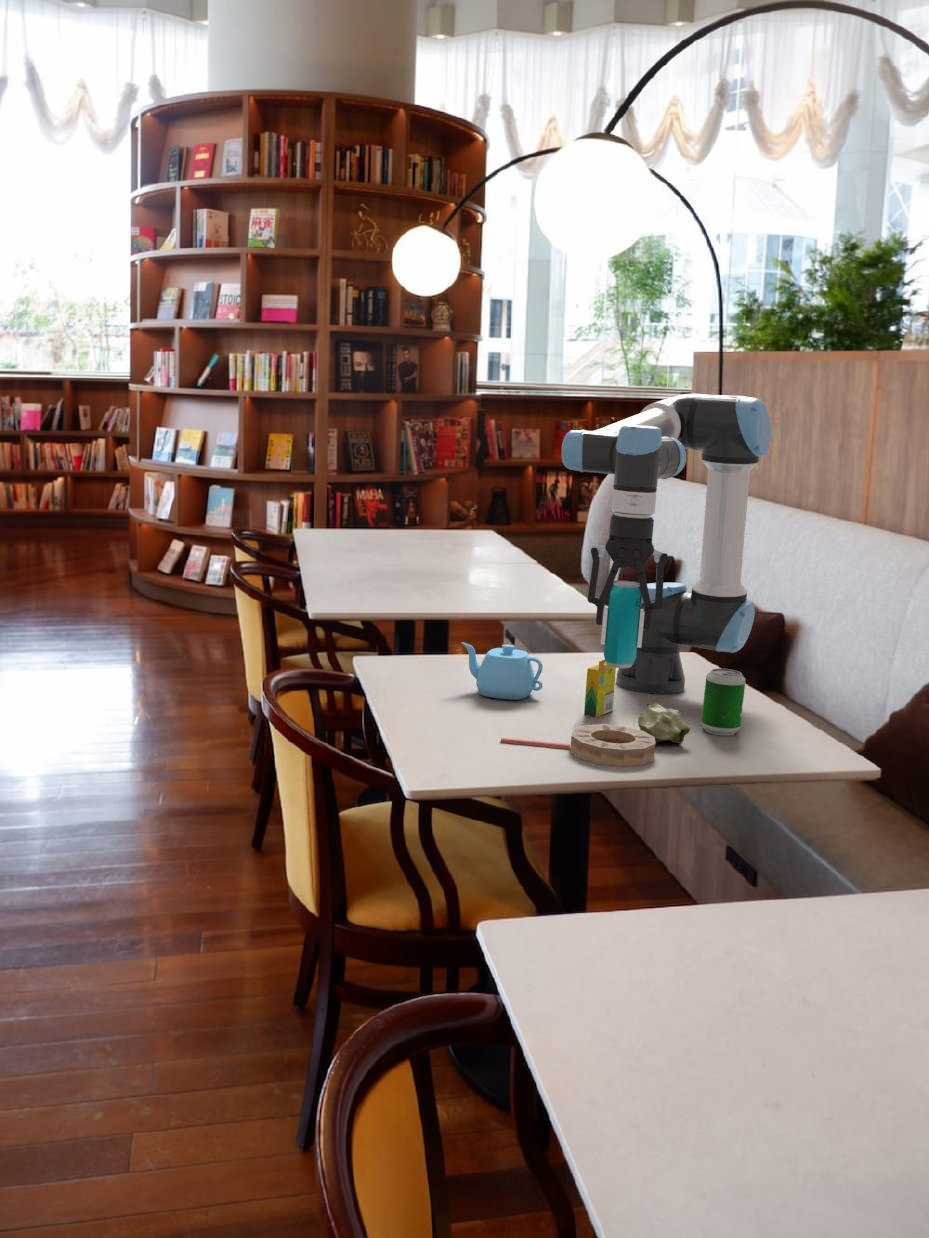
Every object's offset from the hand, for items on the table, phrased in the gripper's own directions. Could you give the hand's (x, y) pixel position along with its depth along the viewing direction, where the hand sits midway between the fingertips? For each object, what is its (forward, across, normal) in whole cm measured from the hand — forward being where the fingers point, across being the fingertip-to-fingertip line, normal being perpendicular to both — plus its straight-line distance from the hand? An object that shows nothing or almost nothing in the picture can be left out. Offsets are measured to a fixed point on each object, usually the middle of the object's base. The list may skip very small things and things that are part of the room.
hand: (620, 644), depth 212 cm
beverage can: (+4, 0, 0) cm, 4 cm away
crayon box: (+20, -3, +26) cm, 33 cm away
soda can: (+20, +21, +21) cm, 36 cm away
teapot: (+20, -24, +34) cm, 46 cm away
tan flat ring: (+20, 0, 0) cm, 20 cm away
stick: (+20, -14, 0) cm, 24 cm away
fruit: (+20, +9, +10) cm, 25 cm away
